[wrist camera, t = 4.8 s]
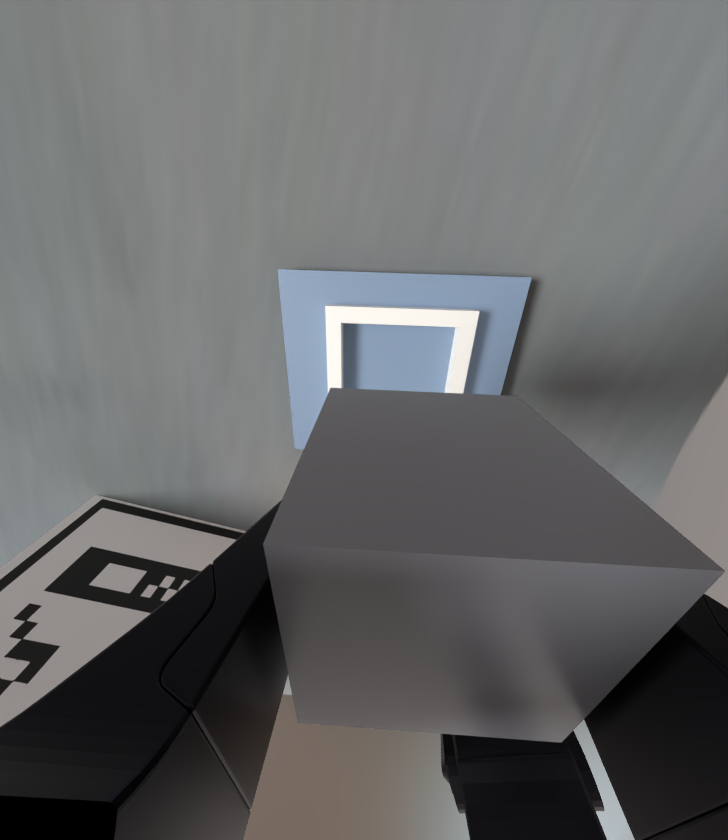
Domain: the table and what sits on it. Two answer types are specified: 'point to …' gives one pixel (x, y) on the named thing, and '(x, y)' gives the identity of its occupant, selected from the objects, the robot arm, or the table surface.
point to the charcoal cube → (465, 569)
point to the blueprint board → (395, 334)
